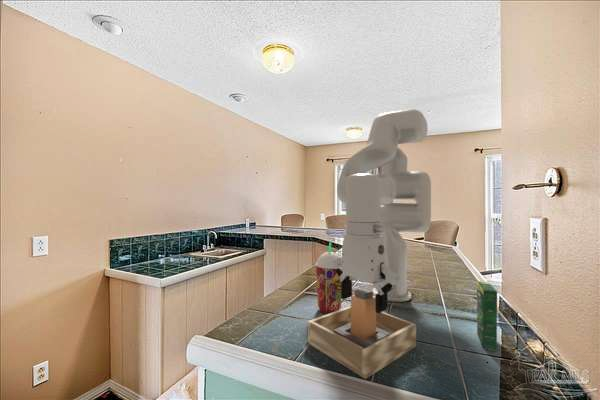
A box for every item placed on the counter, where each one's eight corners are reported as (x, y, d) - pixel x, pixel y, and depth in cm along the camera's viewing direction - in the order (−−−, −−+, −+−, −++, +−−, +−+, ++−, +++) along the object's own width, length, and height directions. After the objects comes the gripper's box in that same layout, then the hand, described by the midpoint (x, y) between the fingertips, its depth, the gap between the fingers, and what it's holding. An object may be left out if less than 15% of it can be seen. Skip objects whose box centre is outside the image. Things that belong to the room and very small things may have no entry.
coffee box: (475, 332, 68) (476, 279, 68) (489, 335, 67) (490, 281, 67) (481, 348, 61) (482, 289, 61) (497, 351, 60) (497, 291, 60)
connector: (361, 334, 65) (362, 286, 65) (376, 341, 62) (376, 291, 62) (350, 339, 63) (351, 290, 63) (364, 346, 60) (365, 295, 60)
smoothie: (343, 317, 76) (343, 245, 76) (313, 315, 78) (313, 244, 78) (344, 306, 84) (345, 241, 84) (317, 304, 86) (317, 240, 86)
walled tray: (358, 321, 74) (358, 302, 74) (415, 346, 61) (416, 324, 61) (307, 343, 62) (308, 321, 62) (365, 379, 50) (365, 351, 50)
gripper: (407, 231, 58) (407, 312, 58) (345, 224, 71) (345, 289, 72) (387, 235, 53) (386, 323, 54) (324, 226, 66) (324, 296, 67)
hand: (362, 303), depth 63 cm, fingers open, 9 cm apart
